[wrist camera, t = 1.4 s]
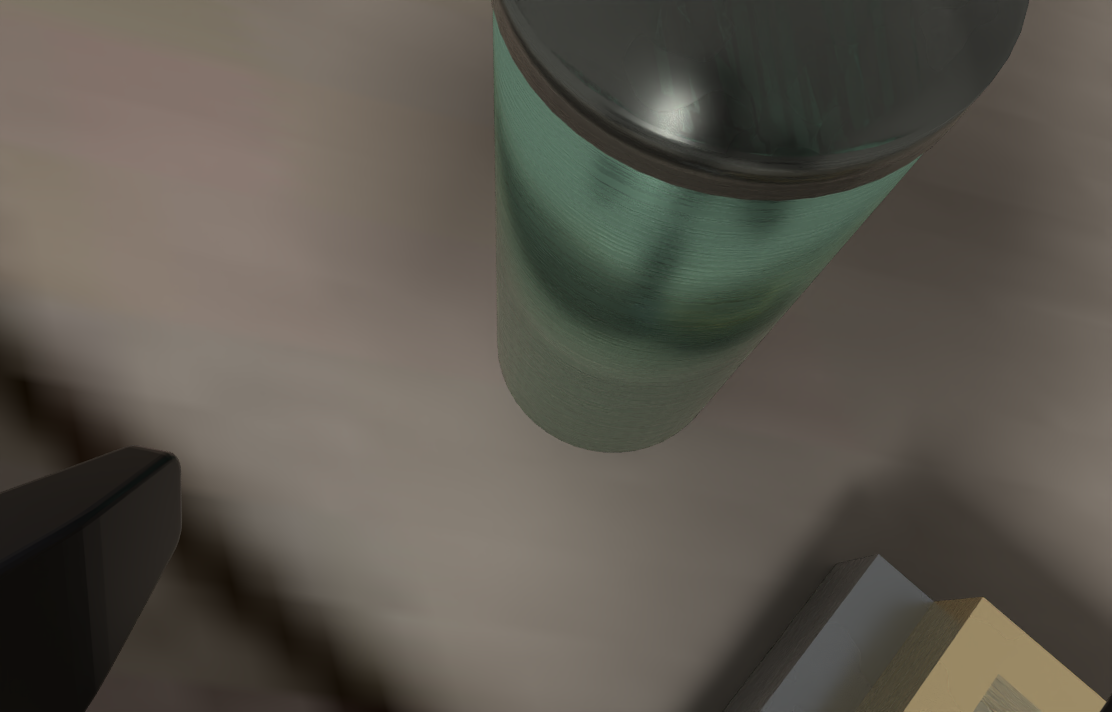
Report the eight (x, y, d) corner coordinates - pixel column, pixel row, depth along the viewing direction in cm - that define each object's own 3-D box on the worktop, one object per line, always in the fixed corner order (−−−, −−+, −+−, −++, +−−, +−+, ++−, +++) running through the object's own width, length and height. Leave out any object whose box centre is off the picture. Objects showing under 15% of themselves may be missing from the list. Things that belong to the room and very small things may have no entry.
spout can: (705, 476, 22) (1027, 216, 8) (472, 427, 22) (426, 91, 8) (750, 161, 25) (1037, -392, 11) (546, 119, 25) (597, -481, 12)
